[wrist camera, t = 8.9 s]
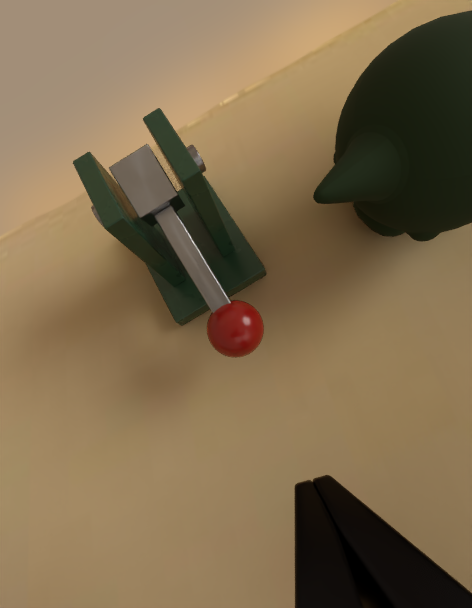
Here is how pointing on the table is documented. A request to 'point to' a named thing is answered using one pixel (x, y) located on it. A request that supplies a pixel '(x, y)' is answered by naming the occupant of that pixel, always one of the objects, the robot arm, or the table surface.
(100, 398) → the table surface
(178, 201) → the lever
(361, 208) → the toy figurine
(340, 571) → the robot arm
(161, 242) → the bracket
